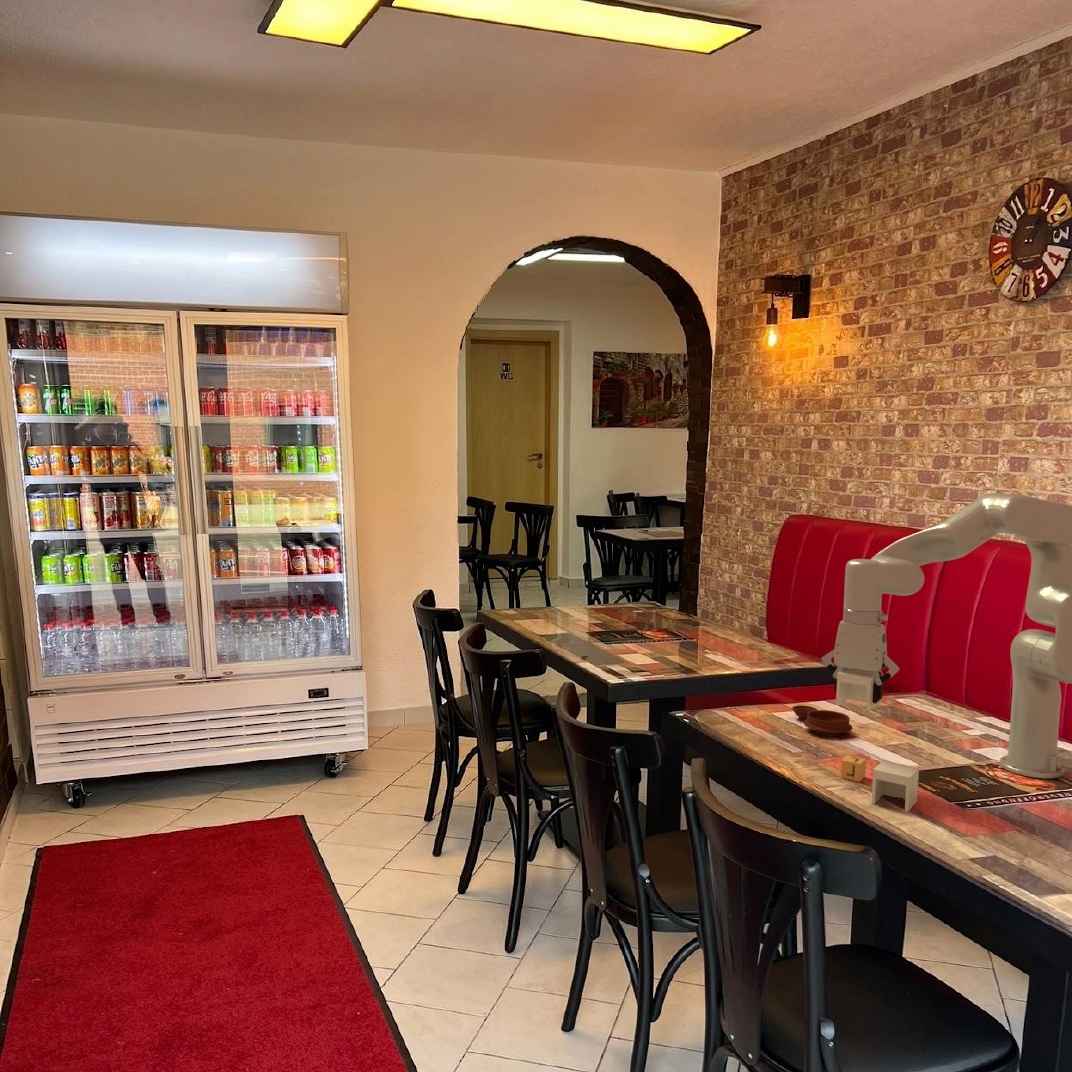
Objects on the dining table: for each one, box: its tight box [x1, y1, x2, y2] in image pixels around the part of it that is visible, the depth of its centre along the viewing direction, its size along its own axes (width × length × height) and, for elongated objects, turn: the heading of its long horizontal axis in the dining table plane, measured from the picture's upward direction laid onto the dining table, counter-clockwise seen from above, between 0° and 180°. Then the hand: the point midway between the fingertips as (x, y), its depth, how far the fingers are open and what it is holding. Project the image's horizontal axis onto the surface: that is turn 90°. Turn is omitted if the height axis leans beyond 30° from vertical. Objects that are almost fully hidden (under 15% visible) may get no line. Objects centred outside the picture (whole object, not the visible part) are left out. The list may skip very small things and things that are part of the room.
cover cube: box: [835, 669, 880, 712], centre depth 193 cm, size 7×7×7 cm
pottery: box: [791, 705, 853, 737], centre depth 230 cm, size 12×20×4 cm, turn 14°
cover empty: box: [870, 759, 920, 813], centre depth 180 cm, size 7×7×7 cm
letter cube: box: [840, 755, 867, 783], centre depth 194 cm, size 4×4×4 cm
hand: (857, 698), depth 193 cm, fingers closed on cover cube, 7 cm apart
